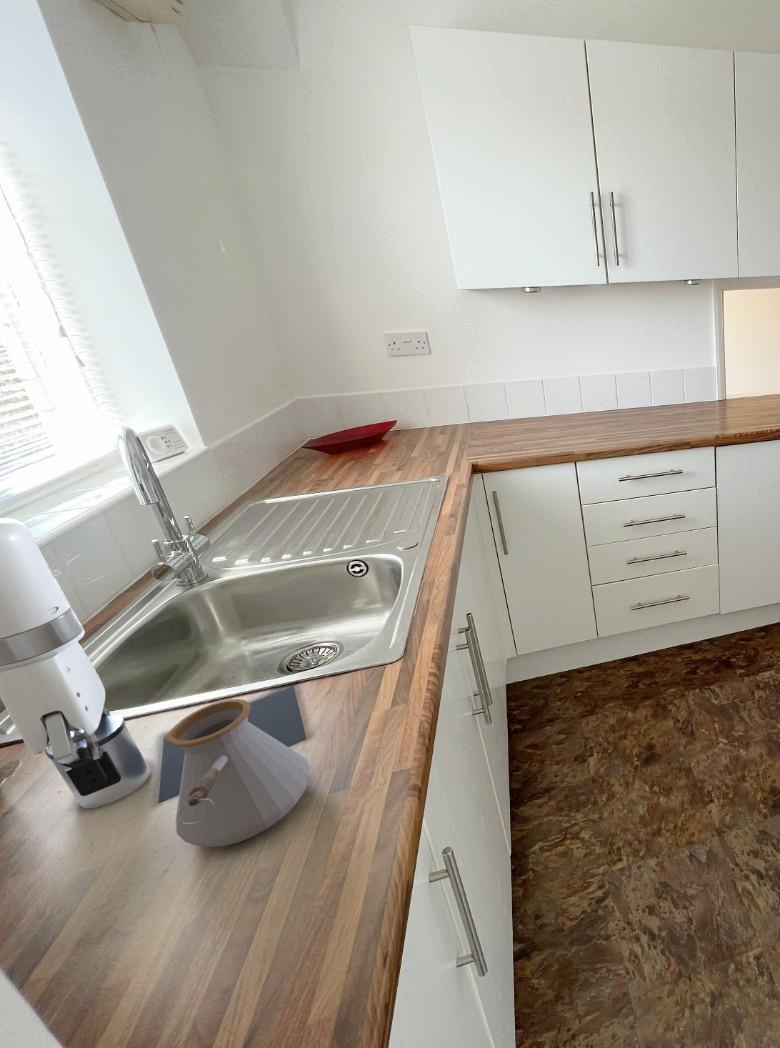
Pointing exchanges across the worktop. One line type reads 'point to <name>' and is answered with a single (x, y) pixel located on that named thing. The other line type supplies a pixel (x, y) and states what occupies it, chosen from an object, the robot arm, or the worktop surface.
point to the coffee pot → (232, 776)
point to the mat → (267, 714)
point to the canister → (121, 752)
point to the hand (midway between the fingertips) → (105, 768)
